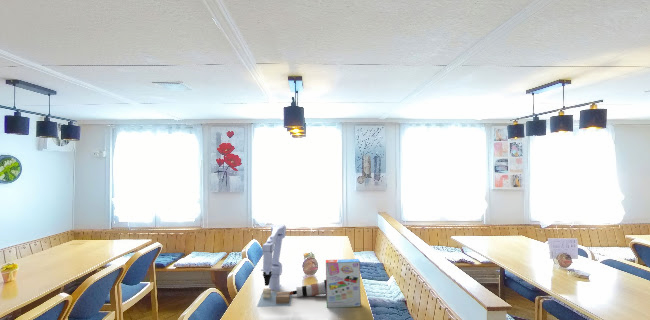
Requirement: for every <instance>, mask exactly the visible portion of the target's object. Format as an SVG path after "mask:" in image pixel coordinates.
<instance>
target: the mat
mask: <svg viewBox="0 0 650 320" xmlns="http://www.w3.org/2000/svg"><path fill="white" fill-rule="evenodd" d="M277 292H278V291H271V297H270V298H263V292H261V295H260V298H259V301H258V303H257V306H256V307H257V308H265V307H266V308H267V307H270V308H271V307H272V308H273V307H291V304H292V298H293V295H290V301H289V303H277V304H276V295H277Z"/></svg>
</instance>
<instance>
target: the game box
mask: <svg viewBox="0 0 650 320" xmlns="http://www.w3.org/2000/svg"><path fill="white" fill-rule="evenodd" d="M325 280H326V292H327V296H326V308H329V309H330V308H351V307H352V308H353V307H357V308H358V307H362V302H361V299H362V298H361V261H360V259H359V258H351V259H350V258H349V259H346V258H345V259H326V260H325Z"/></svg>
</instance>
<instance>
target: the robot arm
mask: <svg viewBox="0 0 650 320" xmlns="http://www.w3.org/2000/svg"><path fill="white" fill-rule="evenodd" d="M270 232H271V235H269V237H268V238H267V240H266V241H265V243H263V245H262V256H263V259H262V260H263V261H262V264H263V265H262V269H260V271H262V277H263V279H264V286H266V287H267V286H268V288H271V291H280V290H281V286H282V284H281V283H280V282H281V281H280V279H281V278H280V276H281V275H282V274H283V264H282V263H281V262H280V256H281V250H282V242H283V239H284V238H286V237H285V236H286V233H287V227H286V225H285V224H272V225H271V227H270Z"/></svg>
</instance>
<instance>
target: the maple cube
mask: <svg viewBox="0 0 650 320" xmlns="http://www.w3.org/2000/svg"><path fill="white" fill-rule="evenodd" d="M271 292H272V290H271V288H269V287H266V288H265V287H264V288H263V290H262V293H263V298H270V297H271Z"/></svg>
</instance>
